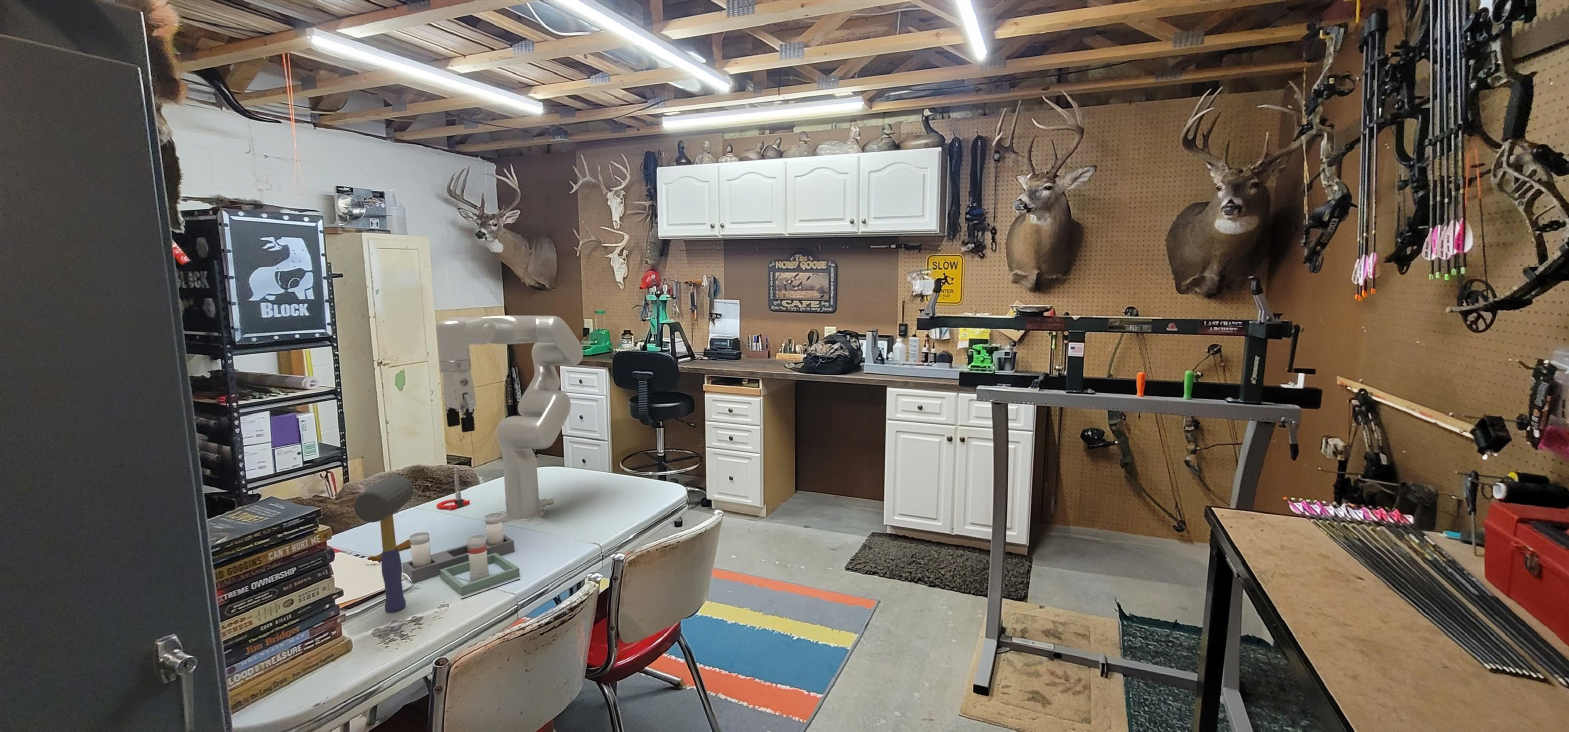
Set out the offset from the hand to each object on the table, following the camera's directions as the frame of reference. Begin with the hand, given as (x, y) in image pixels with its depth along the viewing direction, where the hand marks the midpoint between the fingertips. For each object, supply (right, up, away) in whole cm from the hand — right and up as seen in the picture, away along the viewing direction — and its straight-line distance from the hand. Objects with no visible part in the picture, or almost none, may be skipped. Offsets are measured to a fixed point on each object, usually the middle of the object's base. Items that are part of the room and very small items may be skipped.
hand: (461, 428), depth 177 cm
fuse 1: (-2, -34, -16) cm, 38 cm away
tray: (+13, -35, -18) cm, 42 cm away
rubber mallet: (+2, -38, -33) cm, 50 cm away
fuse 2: (+11, -33, -3) cm, 34 cm away
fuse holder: (+5, -34, -9) cm, 36 cm away
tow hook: (-21, -29, +37) cm, 52 cm away
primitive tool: (-17, -34, 0) cm, 38 cm away
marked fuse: (+13, -35, -18) cm, 41 cm away
